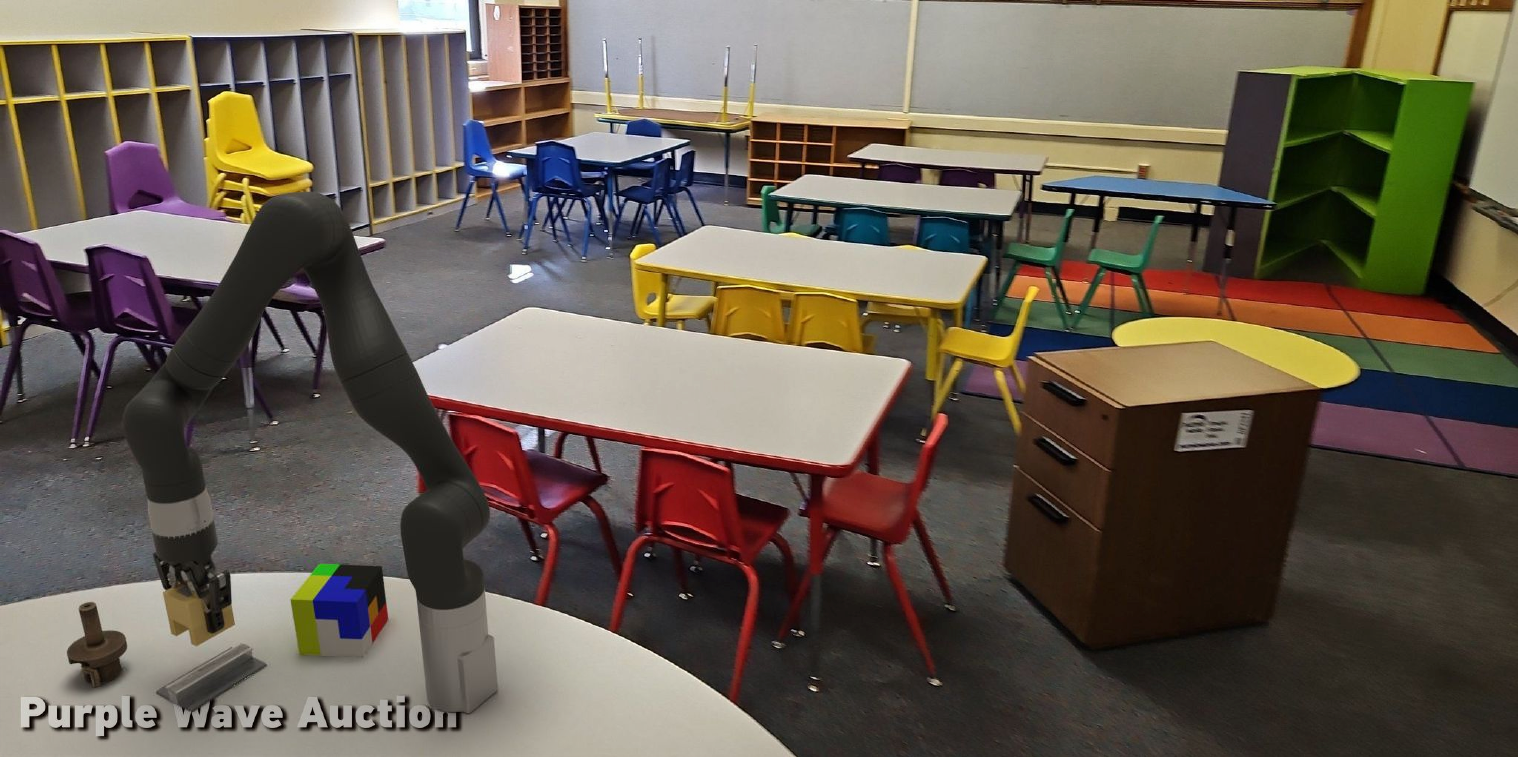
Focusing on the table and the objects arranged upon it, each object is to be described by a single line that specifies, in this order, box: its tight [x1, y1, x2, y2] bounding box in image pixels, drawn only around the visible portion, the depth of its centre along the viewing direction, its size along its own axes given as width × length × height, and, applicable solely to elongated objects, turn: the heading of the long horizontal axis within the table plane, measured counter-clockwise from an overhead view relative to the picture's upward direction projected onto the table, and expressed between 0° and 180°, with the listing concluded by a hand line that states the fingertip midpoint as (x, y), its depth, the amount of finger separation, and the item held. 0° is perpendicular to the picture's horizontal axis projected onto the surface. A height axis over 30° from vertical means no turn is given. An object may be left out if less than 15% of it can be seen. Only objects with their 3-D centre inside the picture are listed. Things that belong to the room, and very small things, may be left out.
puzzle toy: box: [290, 563, 389, 658], centre depth 156 cm, size 10×10×10 cm
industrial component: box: [66, 601, 128, 688], centre depth 145 cm, size 9×7×12 cm
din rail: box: [155, 642, 268, 713], centre depth 146 cm, size 8×12×2 cm, turn 152°
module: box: [162, 585, 236, 647], centre depth 142 cm, size 6×6×7 cm
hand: (202, 623), depth 143 cm, fingers closed on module, 5 cm apart
